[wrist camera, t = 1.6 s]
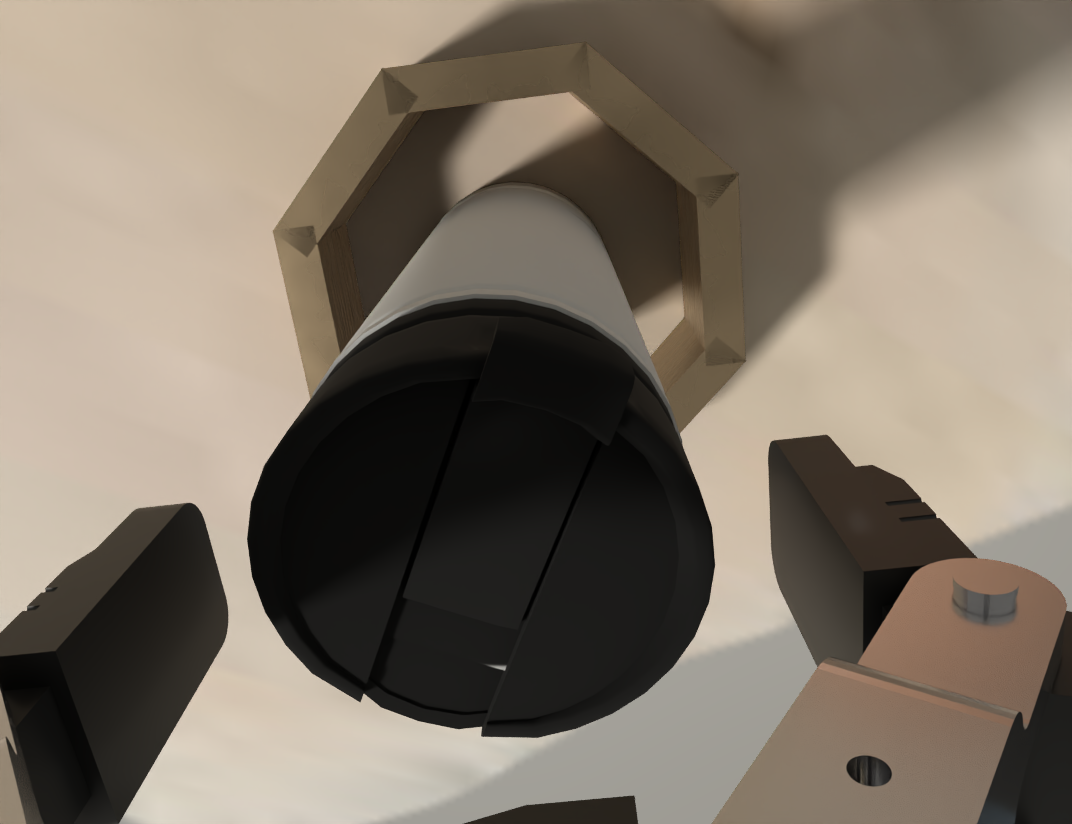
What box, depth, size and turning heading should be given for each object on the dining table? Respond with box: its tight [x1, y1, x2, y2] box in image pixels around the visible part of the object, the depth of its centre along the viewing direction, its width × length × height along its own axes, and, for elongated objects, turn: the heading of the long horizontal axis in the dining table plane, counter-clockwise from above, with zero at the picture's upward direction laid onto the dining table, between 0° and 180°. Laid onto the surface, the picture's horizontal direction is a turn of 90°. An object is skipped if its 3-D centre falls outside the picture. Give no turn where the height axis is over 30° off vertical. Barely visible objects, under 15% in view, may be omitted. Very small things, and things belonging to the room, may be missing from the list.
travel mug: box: [247, 182, 715, 738], centre depth 20 cm, size 6×7×20 cm
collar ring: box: [273, 42, 746, 433], centre depth 28 cm, size 13×13×4 cm
